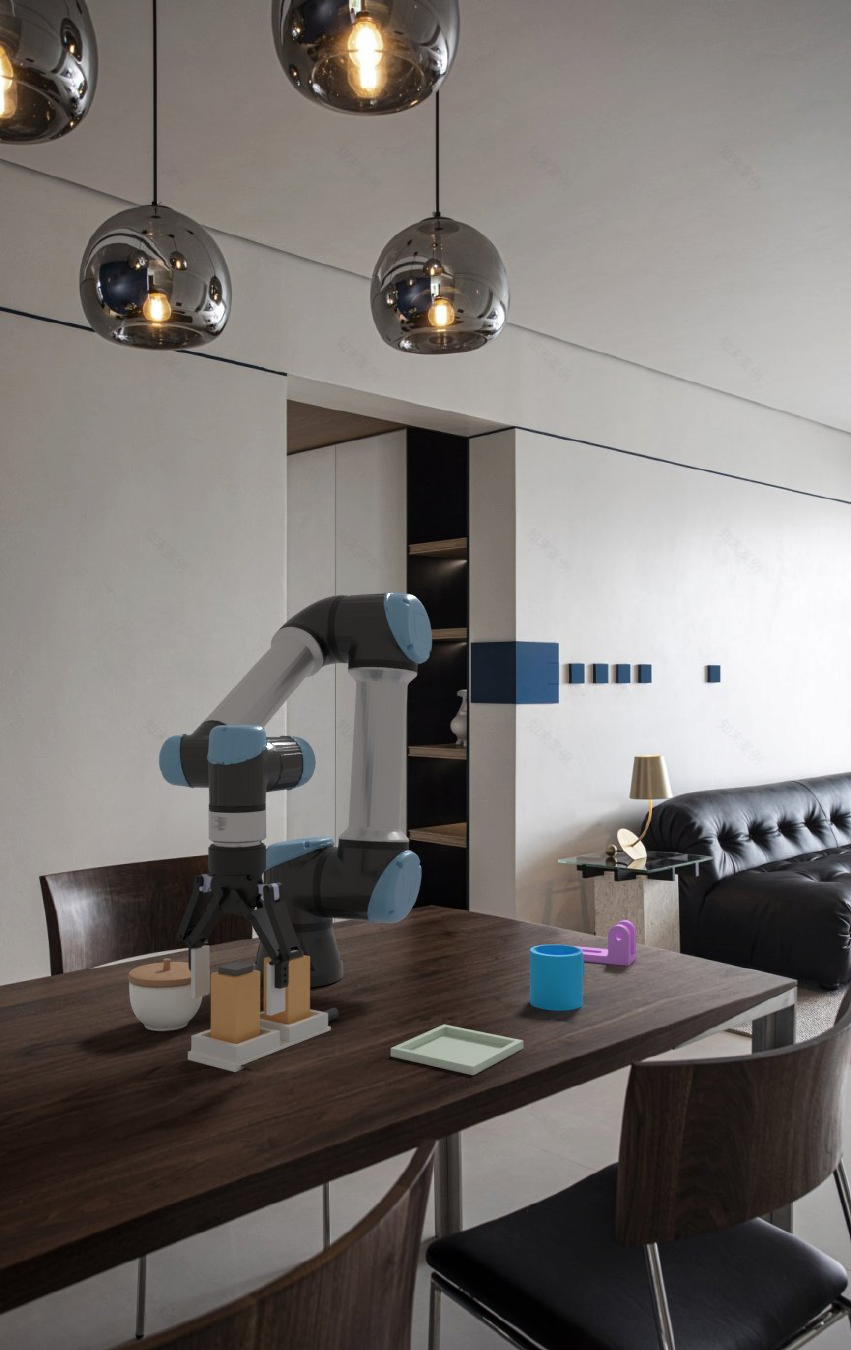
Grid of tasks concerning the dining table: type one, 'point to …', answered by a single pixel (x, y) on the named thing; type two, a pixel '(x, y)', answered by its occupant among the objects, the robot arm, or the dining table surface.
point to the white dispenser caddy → (269, 1025)
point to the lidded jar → (163, 995)
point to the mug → (556, 977)
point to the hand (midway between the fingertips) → (237, 1004)
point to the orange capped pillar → (235, 1003)
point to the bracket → (615, 946)
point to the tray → (457, 1049)
